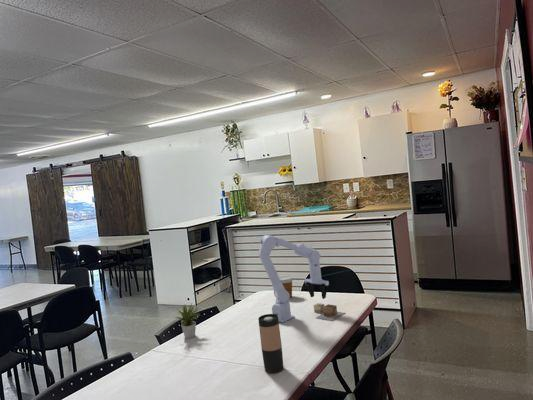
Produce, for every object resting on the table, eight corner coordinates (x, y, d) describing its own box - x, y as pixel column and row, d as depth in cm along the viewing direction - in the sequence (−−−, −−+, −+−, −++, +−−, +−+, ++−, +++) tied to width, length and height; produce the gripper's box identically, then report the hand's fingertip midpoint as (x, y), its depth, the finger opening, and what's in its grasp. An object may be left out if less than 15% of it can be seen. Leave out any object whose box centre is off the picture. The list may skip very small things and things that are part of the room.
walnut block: (331, 317, 197) (330, 308, 197) (323, 315, 200) (322, 307, 200) (337, 314, 200) (336, 305, 200) (329, 312, 204) (328, 304, 204)
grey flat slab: (332, 321, 192) (332, 320, 192) (315, 318, 199) (315, 317, 199) (345, 313, 201) (345, 312, 201) (329, 310, 208) (329, 310, 208)
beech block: (320, 313, 206) (319, 306, 206) (314, 312, 209) (313, 305, 208) (325, 311, 209) (324, 303, 209) (318, 310, 211) (318, 302, 211)
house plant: (198, 342, 185) (193, 308, 184) (170, 343, 188) (166, 309, 187) (208, 331, 199) (204, 299, 198) (182, 332, 202) (179, 300, 201)
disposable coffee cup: (277, 299, 240) (275, 280, 239) (281, 295, 249) (279, 276, 249) (292, 299, 237) (290, 279, 237) (296, 294, 246) (294, 275, 246)
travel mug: (272, 363, 154) (266, 312, 154) (288, 367, 149) (282, 315, 149) (260, 371, 148) (253, 319, 148) (275, 375, 143) (269, 321, 143)
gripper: (331, 271, 206) (333, 296, 206) (309, 269, 216) (311, 294, 216) (323, 274, 201) (326, 300, 201) (300, 272, 211) (303, 297, 211)
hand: (318, 297), depth 208 cm, fingers open, 7 cm apart
